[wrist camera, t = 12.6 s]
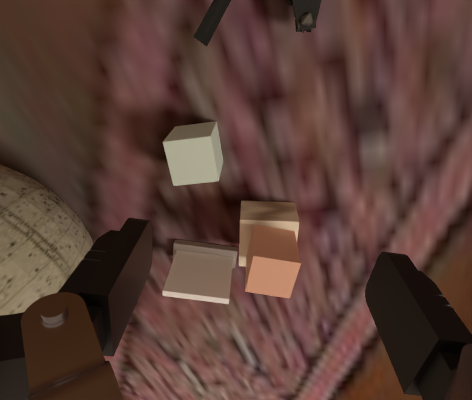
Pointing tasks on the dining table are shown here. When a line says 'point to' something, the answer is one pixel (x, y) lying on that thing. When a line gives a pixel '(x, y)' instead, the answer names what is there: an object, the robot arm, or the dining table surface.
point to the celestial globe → (35, 241)
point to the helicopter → (303, 3)
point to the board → (201, 271)
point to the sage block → (194, 153)
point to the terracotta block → (272, 261)
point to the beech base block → (265, 220)
